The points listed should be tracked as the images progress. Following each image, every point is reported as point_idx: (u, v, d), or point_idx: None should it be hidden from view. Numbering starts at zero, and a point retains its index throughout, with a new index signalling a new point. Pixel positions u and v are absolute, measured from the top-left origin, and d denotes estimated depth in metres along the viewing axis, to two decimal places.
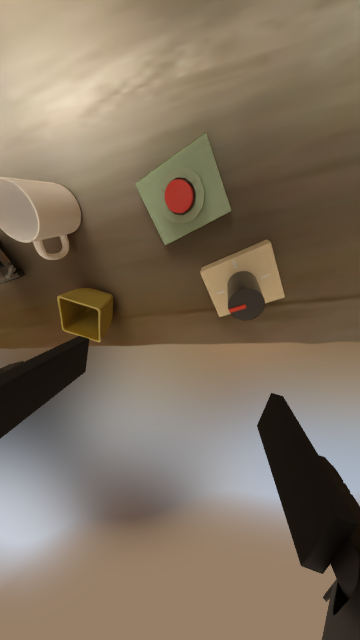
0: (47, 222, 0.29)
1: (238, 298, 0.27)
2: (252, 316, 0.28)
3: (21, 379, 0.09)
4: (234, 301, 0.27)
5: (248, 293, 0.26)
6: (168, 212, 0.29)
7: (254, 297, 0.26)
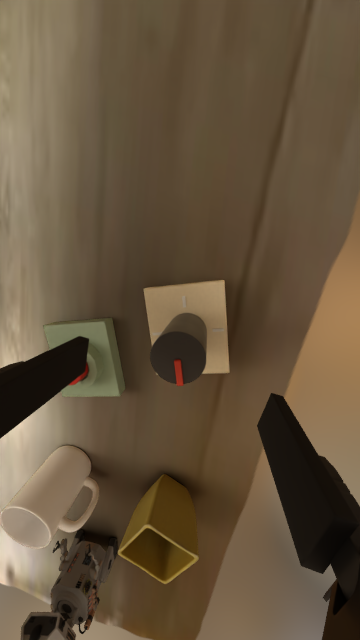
0: (46, 502, 0.28)
1: (163, 366, 0.17)
2: (200, 354, 0.16)
3: (21, 379, 0.09)
4: (166, 372, 0.17)
5: (158, 351, 0.17)
6: (83, 383, 0.27)
7: (167, 344, 0.16)
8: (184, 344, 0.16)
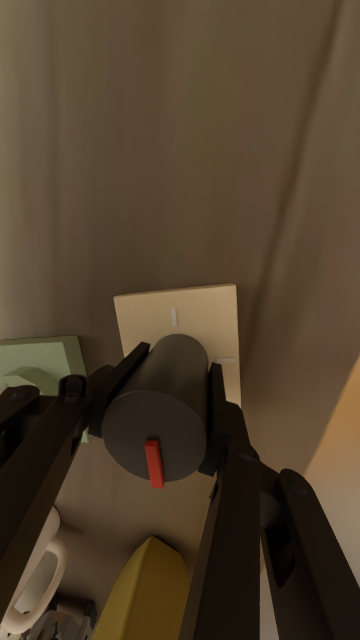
0: None
1: (125, 449, 0.09)
2: (196, 435, 0.08)
3: (122, 380, 0.10)
4: (132, 460, 0.09)
5: (115, 423, 0.09)
6: None
7: (130, 413, 0.08)
8: (164, 414, 0.08)
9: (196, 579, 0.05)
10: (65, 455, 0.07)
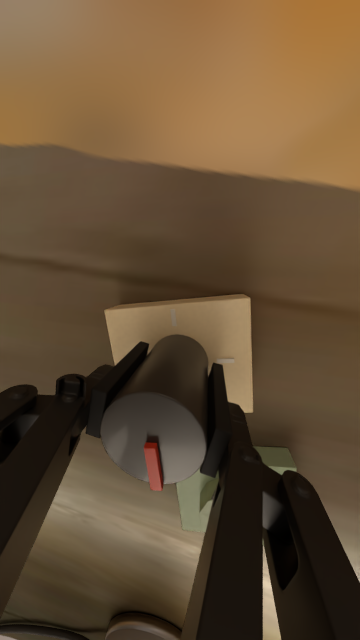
0: None
1: (124, 451, 0.09)
2: (196, 437, 0.08)
3: (120, 379, 0.10)
4: (131, 462, 0.09)
5: (114, 424, 0.09)
6: None
7: (130, 414, 0.08)
8: (163, 416, 0.08)
9: (198, 580, 0.05)
10: (63, 455, 0.07)
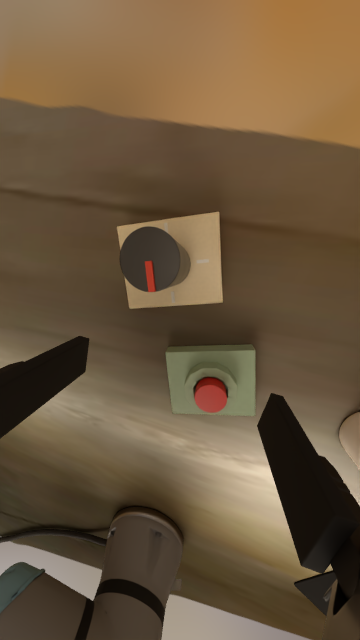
0: None
1: (133, 270, 0.15)
2: (174, 253, 0.15)
3: (21, 379, 0.09)
4: (137, 278, 0.15)
5: (128, 252, 0.15)
6: (230, 386, 0.24)
7: (137, 243, 0.15)
8: (156, 241, 0.15)
9: None
10: None
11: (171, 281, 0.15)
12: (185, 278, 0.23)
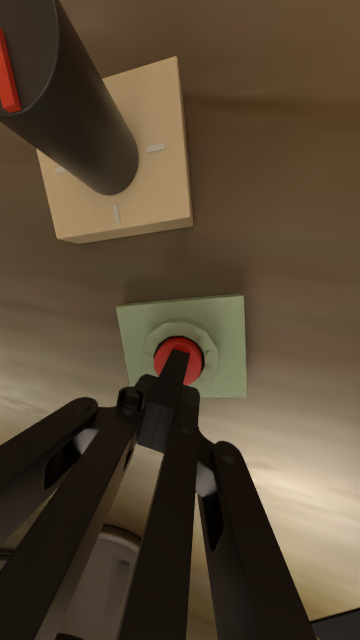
0: None
1: None
2: (42, 2, 0.07)
3: (167, 390, 0.10)
4: None
5: None
6: (206, 349, 0.16)
7: None
8: None
9: (138, 552, 0.05)
10: (119, 471, 0.07)
11: (47, 79, 0.07)
12: (131, 179, 0.15)
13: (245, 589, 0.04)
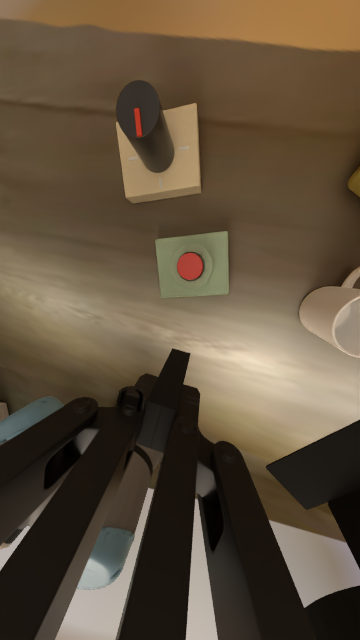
0: (339, 301, 0.24)
1: (126, 119, 0.21)
2: (155, 101, 0.20)
3: (167, 390, 0.10)
4: (129, 126, 0.21)
5: (122, 104, 0.21)
6: (206, 259, 0.30)
7: (129, 95, 0.20)
8: (142, 93, 0.20)
9: (138, 552, 0.05)
10: (119, 471, 0.07)
11: (153, 126, 0.21)
12: (170, 164, 0.28)
13: (246, 590, 0.04)
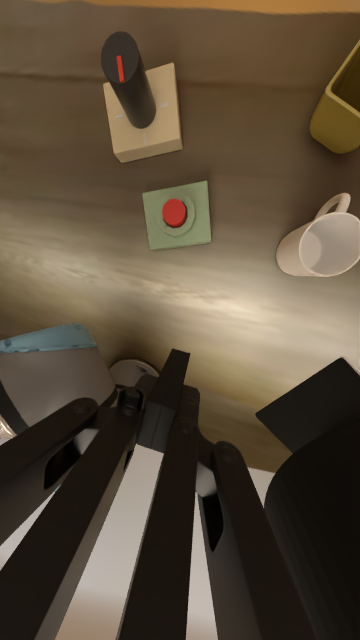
0: (304, 227, 0.27)
1: (110, 67, 0.24)
2: (134, 49, 0.23)
3: (167, 390, 0.10)
4: (112, 73, 0.24)
5: (106, 53, 0.24)
6: (188, 205, 0.33)
7: (111, 45, 0.24)
8: (123, 42, 0.23)
9: (138, 552, 0.05)
10: (119, 471, 0.07)
11: (134, 71, 0.24)
12: (152, 119, 0.31)
13: (245, 589, 0.04)
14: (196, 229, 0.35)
